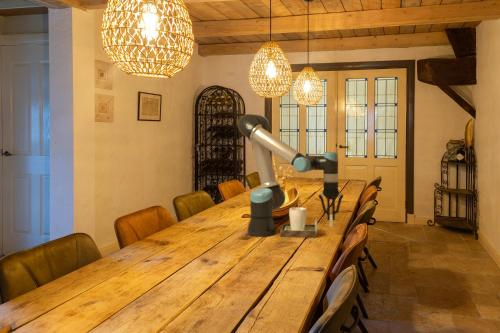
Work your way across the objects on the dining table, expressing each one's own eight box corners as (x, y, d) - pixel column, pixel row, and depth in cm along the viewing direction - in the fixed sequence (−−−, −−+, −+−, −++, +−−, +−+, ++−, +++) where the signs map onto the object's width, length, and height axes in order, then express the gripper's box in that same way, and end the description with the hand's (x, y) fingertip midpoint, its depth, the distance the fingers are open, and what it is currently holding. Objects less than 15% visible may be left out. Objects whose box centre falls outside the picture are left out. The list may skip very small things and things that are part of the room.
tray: (283, 234, 233) (283, 223, 233) (285, 229, 246) (285, 218, 245) (316, 236, 231) (317, 224, 230) (316, 230, 243) (317, 219, 243)
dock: (280, 236, 232) (280, 230, 232) (282, 229, 248) (282, 223, 247) (315, 237, 229) (315, 231, 229) (315, 230, 245) (315, 224, 245)
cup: (305, 233, 233) (305, 210, 232) (288, 232, 235) (288, 209, 234) (306, 229, 242) (307, 207, 241) (290, 228, 244) (290, 206, 243)
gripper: (318, 182, 231) (318, 227, 233) (343, 182, 229) (344, 228, 230) (318, 180, 238) (318, 224, 240) (343, 180, 236) (343, 225, 238)
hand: (331, 226), depth 235 cm, fingers closed
